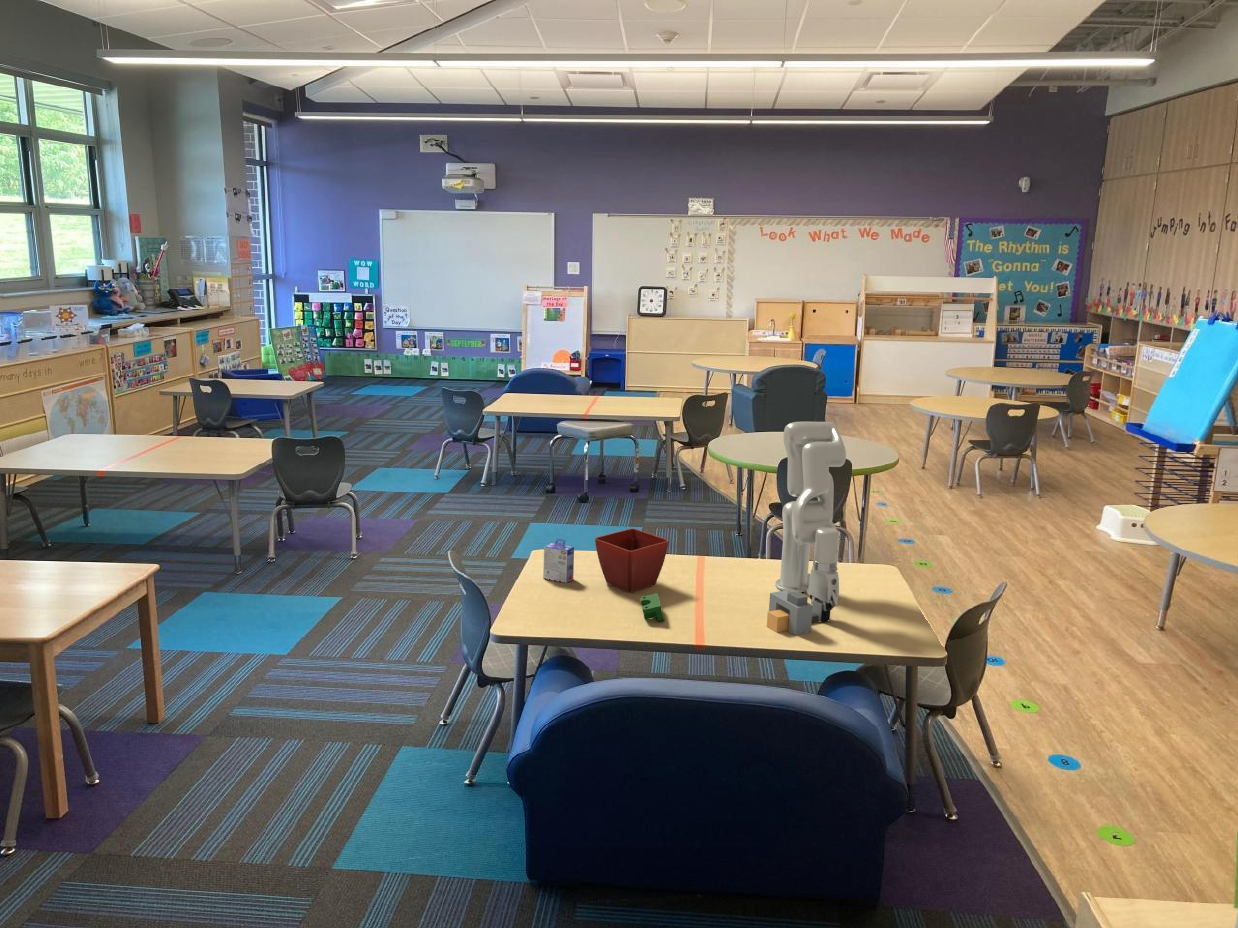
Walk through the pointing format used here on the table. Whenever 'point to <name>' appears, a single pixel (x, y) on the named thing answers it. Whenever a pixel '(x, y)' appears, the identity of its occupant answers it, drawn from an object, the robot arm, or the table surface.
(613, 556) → the plant pot
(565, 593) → the table surface
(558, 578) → the ink cartridge box
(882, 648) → the table surface
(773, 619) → the cube-ended rod
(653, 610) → the clamp
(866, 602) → the table surface
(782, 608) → the housing
